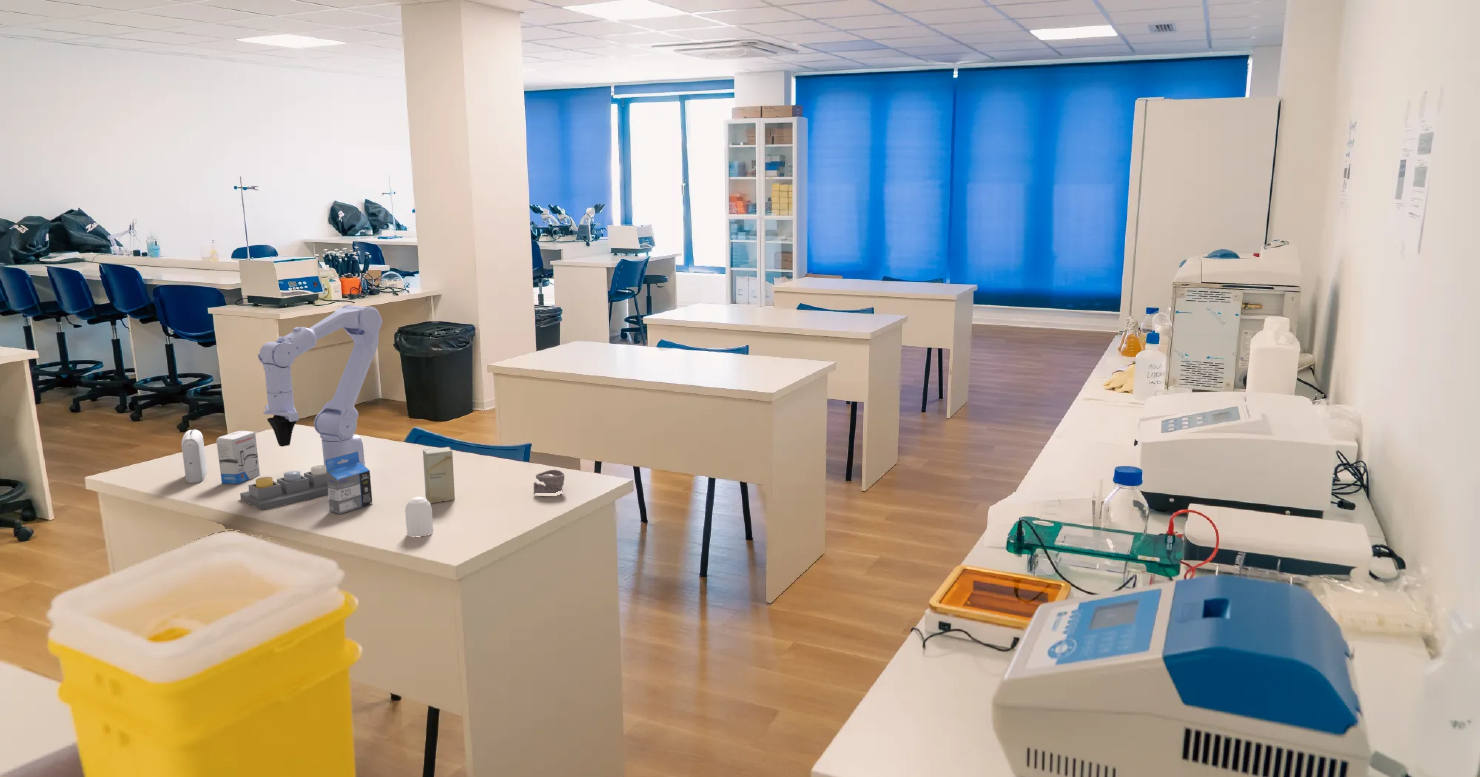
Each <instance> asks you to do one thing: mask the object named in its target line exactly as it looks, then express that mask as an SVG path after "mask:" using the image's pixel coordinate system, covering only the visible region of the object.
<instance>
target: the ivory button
mask: <svg viewBox="0 0 1480 777" xmlns="http://www.w3.org/2000/svg"><path fill="white" fill-rule="evenodd" d="M326 471H327V470H326V466H325V465H324V464H321V465H320V464H319V465H314V466H312V467H310V472H311V475H313V476H319V475H323V474H327V472H326Z"/></svg>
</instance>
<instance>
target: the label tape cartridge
mask: <svg viewBox="0 0 1480 777" xmlns="http://www.w3.org/2000/svg"><path fill="white" fill-rule="evenodd" d="M342 459H344V460H347V459H348V462H345V463H341V464H337V462H339V461H341V460H342ZM325 463H326V470H327V471H326V472H327V485H328V494H327V495H328V506H329V512H330V513H334V514H338V515H343V514H345V513H347V512H352V511H355V510H357V509H358V510H359V509H360V508H363V507H367V506H371V505H373V494H372V481H371V471H370V469H369V468H368V467H367V466H364V465H363V464H362V463H360V462H359V455H358V451H357V452H354V453H350V454H346V455H342V456H338V457H335V458H331V459H327V460H325Z"/></svg>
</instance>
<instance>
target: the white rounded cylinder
mask: <svg viewBox="0 0 1480 777" xmlns="http://www.w3.org/2000/svg"><path fill="white" fill-rule="evenodd" d="M431 504H432V503H429V501H428V500H427V499H426V497H422V496H414V497H412V498H411V499H409V500H408V502H407V503H406V505H405V508H404V509H405V511H404V512H405V522H406V523H405V524H406V525H405V526H406V535H407V534H408V535H407V536H408V537H409V536H415V537H416V536H425V537H427V536H426V535H428V534H430V533H432V532H433V533H434V525H433V509H432V505H431ZM433 533H432V534H433ZM428 536H429V535H428ZM415 537H414V538H415Z"/></svg>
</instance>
